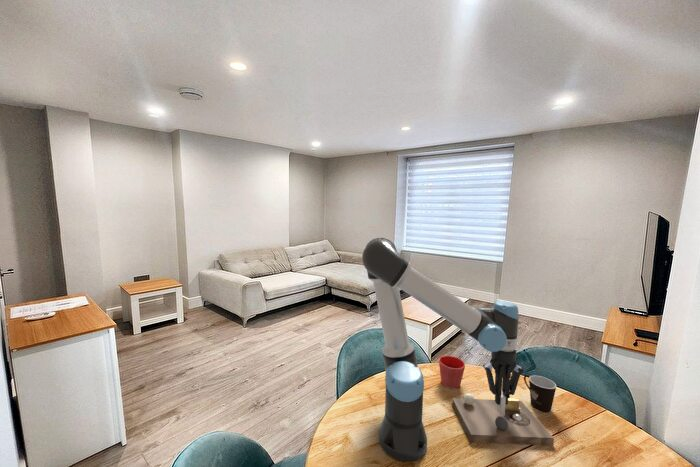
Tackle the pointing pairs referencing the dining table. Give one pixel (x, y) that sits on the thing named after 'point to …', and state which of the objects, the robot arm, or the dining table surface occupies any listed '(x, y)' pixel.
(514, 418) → the steel ball
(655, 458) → the dining table surface
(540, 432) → the board
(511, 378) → the robot arm
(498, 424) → the grey ball
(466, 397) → the cream ball
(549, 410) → the coffee mug
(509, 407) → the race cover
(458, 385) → the flower pot
